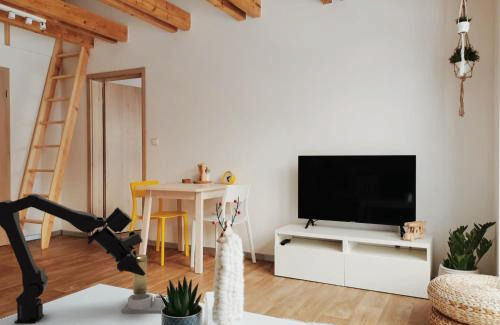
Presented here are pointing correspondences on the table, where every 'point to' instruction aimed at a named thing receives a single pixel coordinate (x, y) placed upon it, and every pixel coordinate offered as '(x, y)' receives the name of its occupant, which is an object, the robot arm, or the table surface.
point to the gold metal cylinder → (139, 280)
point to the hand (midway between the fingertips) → (144, 272)
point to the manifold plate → (144, 304)
